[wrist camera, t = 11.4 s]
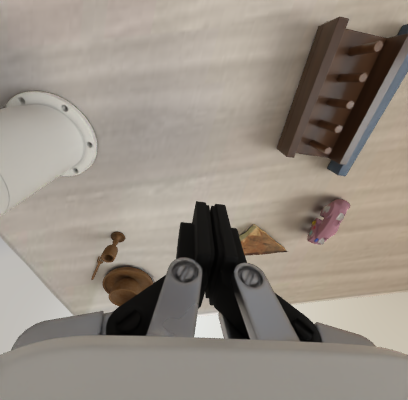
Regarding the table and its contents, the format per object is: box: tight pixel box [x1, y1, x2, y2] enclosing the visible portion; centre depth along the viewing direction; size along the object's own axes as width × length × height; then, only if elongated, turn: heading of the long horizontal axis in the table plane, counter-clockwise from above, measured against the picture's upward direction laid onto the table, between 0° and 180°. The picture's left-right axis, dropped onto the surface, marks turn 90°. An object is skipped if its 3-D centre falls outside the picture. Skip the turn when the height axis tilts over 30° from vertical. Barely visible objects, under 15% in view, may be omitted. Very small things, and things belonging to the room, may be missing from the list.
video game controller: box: [307, 199, 350, 244], centre depth 38 cm, size 10×5×7 cm, turn 165°
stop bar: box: [327, 24, 408, 176], centre depth 29 cm, size 2×20×3 cm, turn 170°
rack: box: [277, 17, 408, 165], centre depth 27 cm, size 10×16×6 cm, turn 171°
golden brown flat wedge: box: [239, 224, 287, 255], centre depth 44 cm, size 11×8×2 cm
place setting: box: [91, 232, 153, 306], centre depth 44 cm, size 18×20×6 cm
